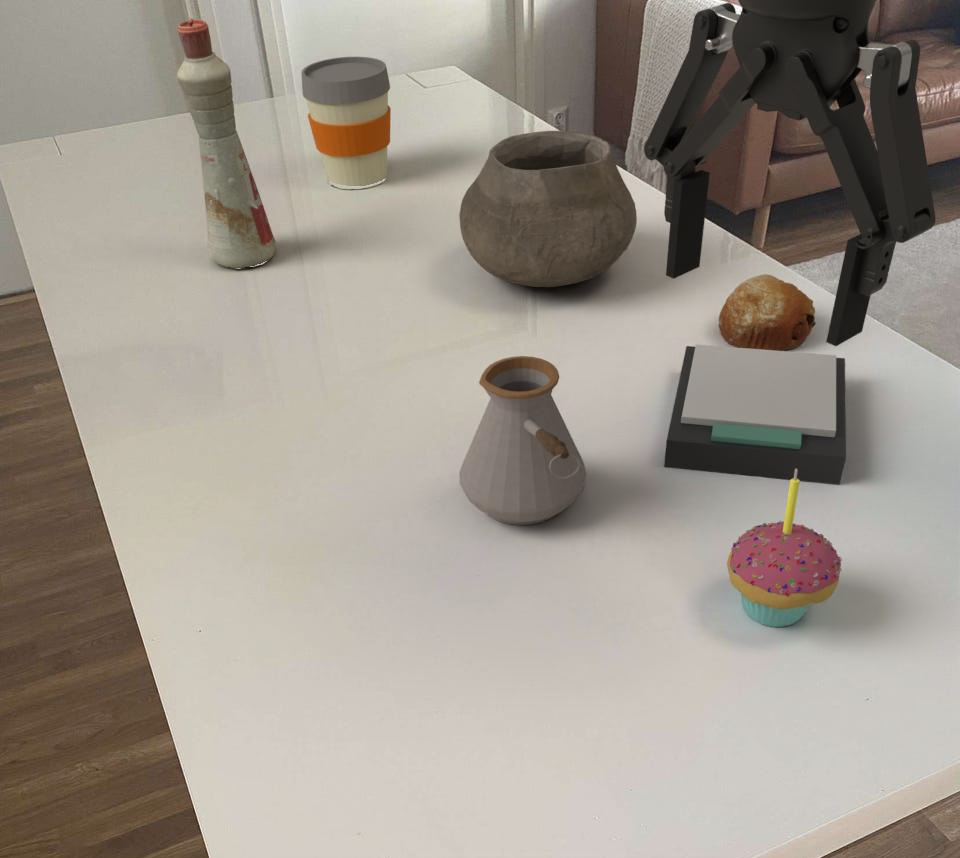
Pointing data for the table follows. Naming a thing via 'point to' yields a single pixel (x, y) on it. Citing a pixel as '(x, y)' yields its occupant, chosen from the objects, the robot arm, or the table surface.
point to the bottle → (222, 156)
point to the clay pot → (548, 209)
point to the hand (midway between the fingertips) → (758, 302)
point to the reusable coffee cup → (349, 117)
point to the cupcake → (783, 568)
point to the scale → (759, 414)
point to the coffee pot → (522, 446)
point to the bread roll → (766, 315)
